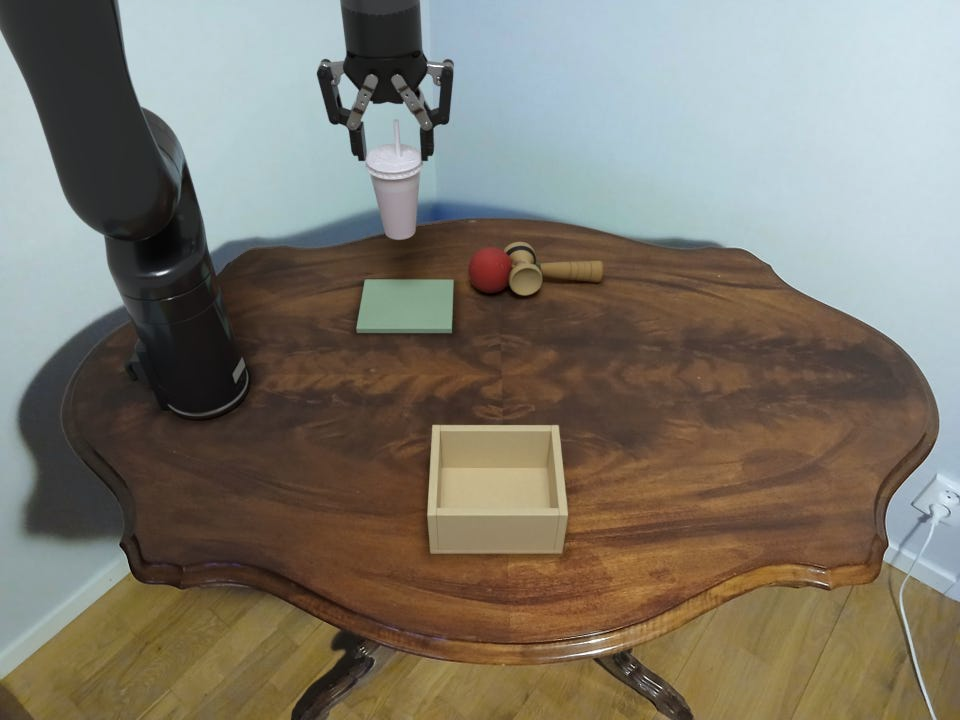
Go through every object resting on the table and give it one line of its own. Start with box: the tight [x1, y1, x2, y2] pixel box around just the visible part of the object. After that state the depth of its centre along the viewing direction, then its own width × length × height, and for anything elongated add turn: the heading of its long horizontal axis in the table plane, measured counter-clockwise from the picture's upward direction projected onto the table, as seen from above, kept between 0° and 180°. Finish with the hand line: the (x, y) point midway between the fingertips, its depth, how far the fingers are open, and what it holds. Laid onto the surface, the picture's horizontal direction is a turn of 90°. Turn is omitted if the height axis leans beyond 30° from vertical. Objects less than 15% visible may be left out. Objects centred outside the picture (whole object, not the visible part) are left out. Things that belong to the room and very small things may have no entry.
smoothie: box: [365, 118, 424, 241], centre depth 82 cm, size 6×6×14 cm
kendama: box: [467, 241, 604, 297], centre depth 97 cm, size 8×6×18 cm
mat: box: [356, 278, 455, 334], centre depth 95 cm, size 12×10×1 cm
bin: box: [426, 424, 569, 555], centre depth 71 cm, size 13×11×6 cm
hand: (393, 157), depth 80 cm, fingers closed on smoothie, 6 cm apart
